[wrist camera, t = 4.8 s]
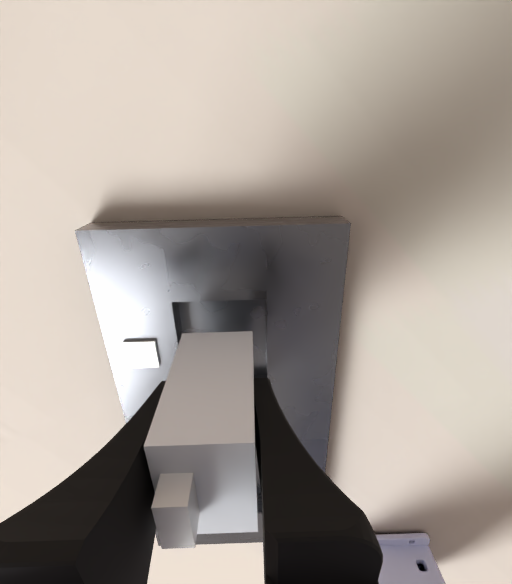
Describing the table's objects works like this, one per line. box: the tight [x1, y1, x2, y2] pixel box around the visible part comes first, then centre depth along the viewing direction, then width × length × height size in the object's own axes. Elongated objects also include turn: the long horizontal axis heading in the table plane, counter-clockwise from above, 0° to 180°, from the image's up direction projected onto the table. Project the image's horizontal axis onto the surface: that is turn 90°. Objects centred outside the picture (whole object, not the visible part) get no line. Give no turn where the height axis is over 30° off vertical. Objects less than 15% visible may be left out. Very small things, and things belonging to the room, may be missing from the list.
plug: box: [144, 331, 258, 549], centre depth 12 cm, size 3×4×7 cm
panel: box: [75, 216, 351, 546], centre depth 20 cm, size 12×24×2 cm, turn 1°
